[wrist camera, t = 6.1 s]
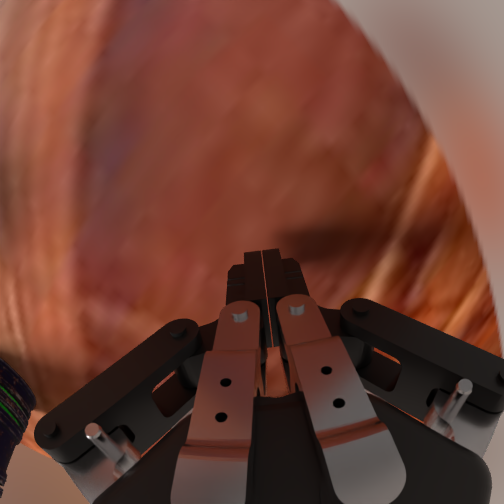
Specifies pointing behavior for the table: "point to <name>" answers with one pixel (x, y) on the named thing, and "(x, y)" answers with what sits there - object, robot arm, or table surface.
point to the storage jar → (12, 414)
